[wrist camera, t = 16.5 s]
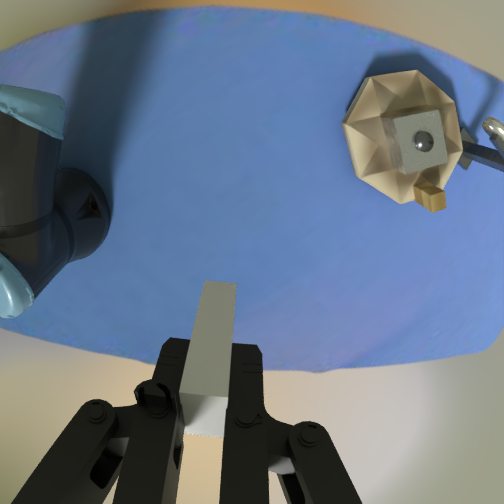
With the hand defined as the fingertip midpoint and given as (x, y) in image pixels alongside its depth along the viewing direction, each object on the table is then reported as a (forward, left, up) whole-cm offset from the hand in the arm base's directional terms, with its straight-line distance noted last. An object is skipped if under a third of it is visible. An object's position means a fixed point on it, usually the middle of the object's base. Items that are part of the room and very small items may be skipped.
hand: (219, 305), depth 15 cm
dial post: (+24, +24, -29) cm, 45 cm away
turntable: (+16, +18, -28) cm, 37 cm away
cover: (+16, +18, -26) cm, 35 cm away
